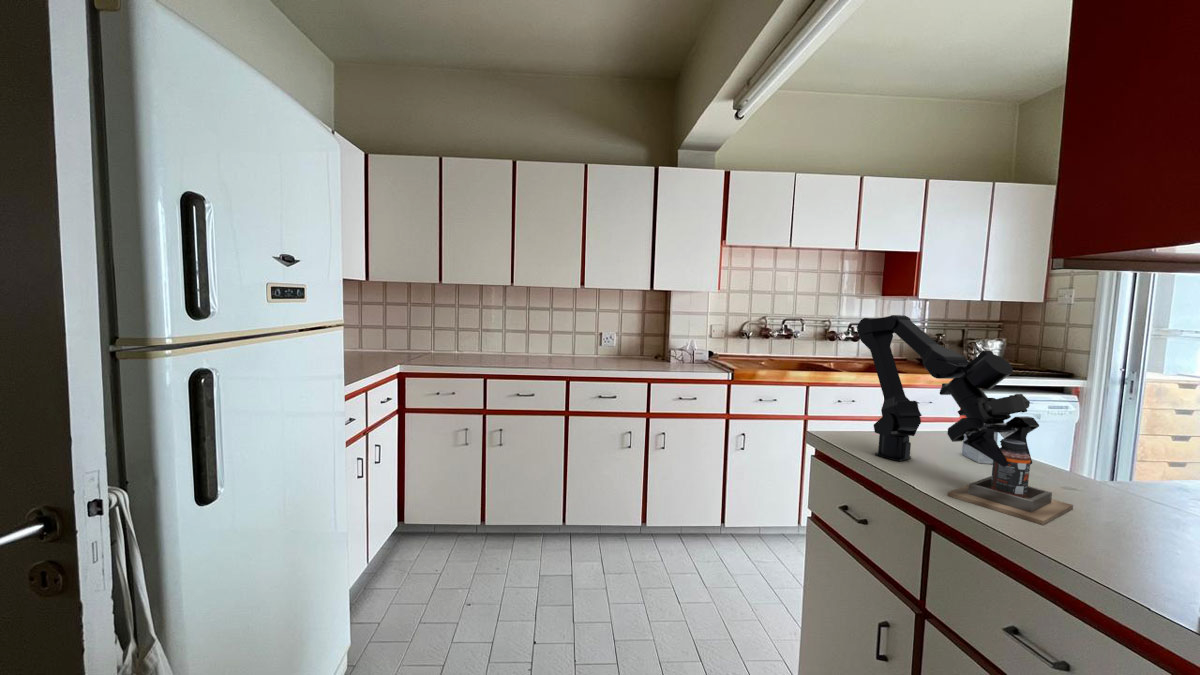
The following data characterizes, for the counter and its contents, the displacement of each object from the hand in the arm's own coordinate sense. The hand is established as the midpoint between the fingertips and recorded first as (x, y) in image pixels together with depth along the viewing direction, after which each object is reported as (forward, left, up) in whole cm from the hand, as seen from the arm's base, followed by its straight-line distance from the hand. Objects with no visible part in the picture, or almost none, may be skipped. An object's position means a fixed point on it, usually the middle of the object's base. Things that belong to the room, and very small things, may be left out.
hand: (1018, 465), depth 103 cm
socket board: (-1, 0, -8) cm, 8 cm away
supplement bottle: (-1, 0, -7) cm, 7 cm away
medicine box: (-18, +30, -9) cm, 36 cm away
